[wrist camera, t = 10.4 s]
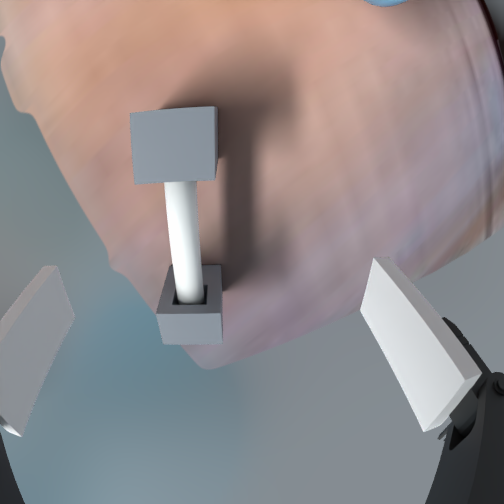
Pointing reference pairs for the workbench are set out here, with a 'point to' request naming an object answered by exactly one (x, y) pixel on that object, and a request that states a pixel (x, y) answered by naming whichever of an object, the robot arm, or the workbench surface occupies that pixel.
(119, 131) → the workbench surface
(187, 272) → the tube
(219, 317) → the socket block
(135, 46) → the workbench surface
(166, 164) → the sleeve
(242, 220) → the workbench surface
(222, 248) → the workbench surface
